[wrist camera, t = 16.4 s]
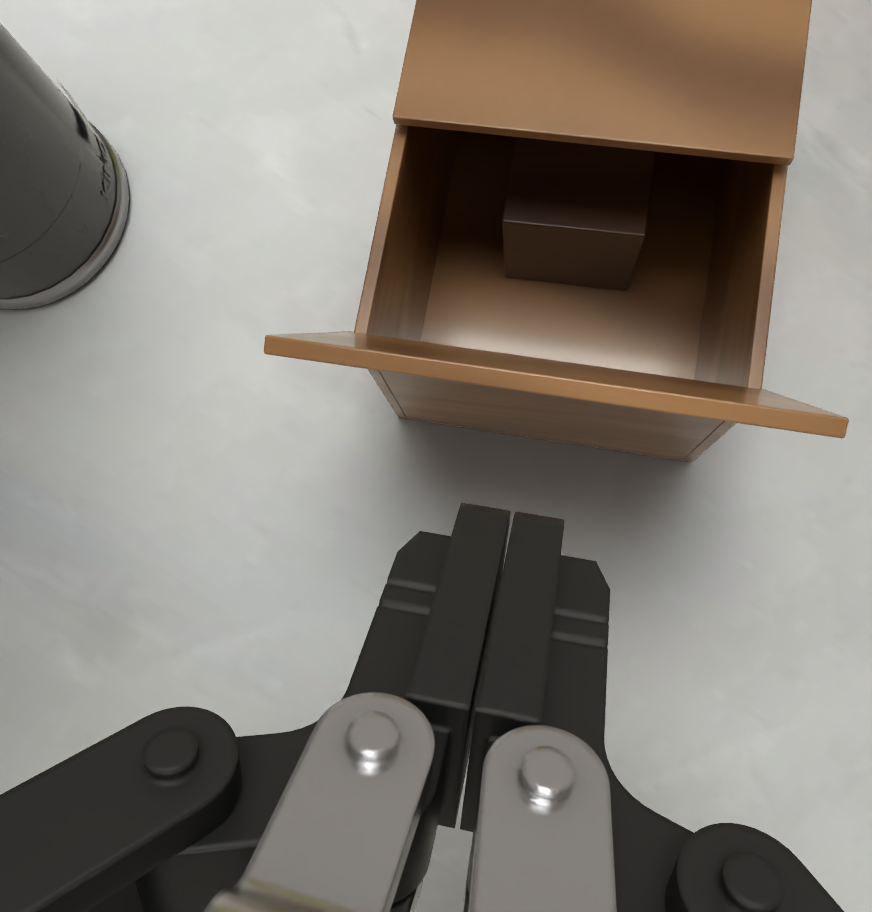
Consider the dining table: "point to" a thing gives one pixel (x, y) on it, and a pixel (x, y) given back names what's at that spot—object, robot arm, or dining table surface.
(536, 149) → the block
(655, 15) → the carton
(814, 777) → the dining table surface
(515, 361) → the flap
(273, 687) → the dining table surface
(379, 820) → the robot arm
